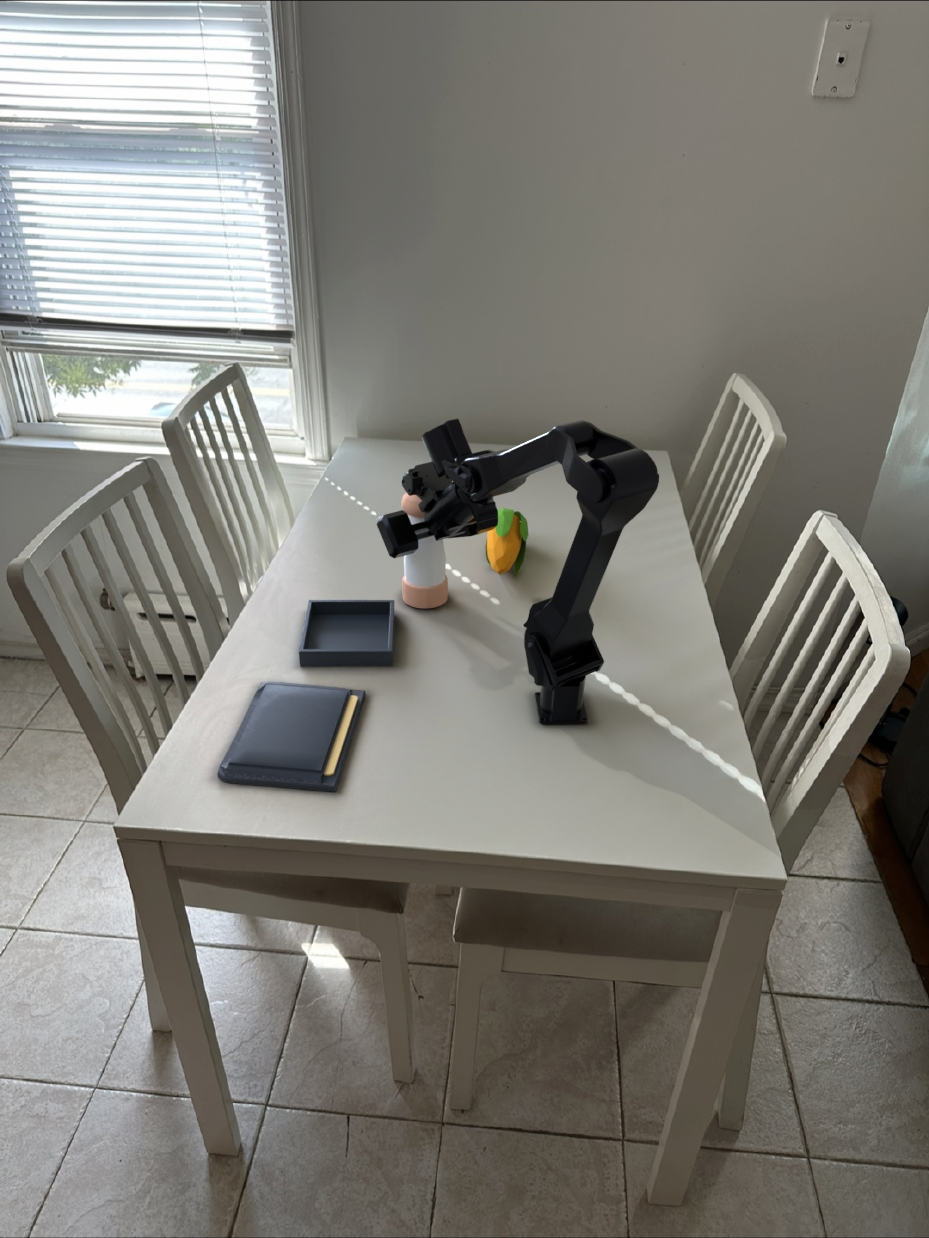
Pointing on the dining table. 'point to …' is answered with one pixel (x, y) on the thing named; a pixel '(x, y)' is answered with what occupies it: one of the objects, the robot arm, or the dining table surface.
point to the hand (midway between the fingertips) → (418, 542)
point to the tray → (348, 633)
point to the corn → (507, 541)
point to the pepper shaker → (423, 565)
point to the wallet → (293, 737)
